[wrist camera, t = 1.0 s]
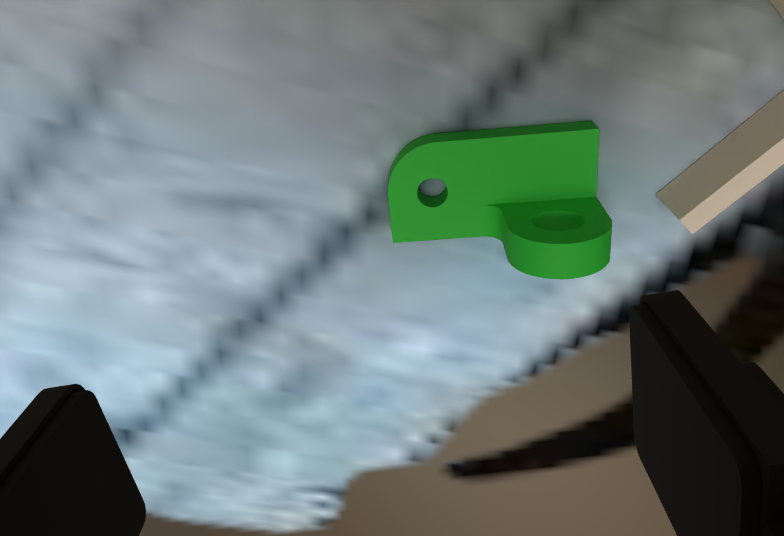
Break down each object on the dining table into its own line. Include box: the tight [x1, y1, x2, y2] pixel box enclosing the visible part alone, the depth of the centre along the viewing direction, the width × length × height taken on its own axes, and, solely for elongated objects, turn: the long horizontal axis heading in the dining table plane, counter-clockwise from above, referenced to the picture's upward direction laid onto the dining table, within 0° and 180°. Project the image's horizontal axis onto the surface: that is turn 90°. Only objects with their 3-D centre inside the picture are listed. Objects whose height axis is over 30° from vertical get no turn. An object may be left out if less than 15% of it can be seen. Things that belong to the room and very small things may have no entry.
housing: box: [656, 0, 784, 234], centre depth 33 cm, size 12×19×4 cm, turn 47°
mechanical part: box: [388, 121, 612, 279], centre depth 36 cm, size 12×6×8 cm, turn 95°
